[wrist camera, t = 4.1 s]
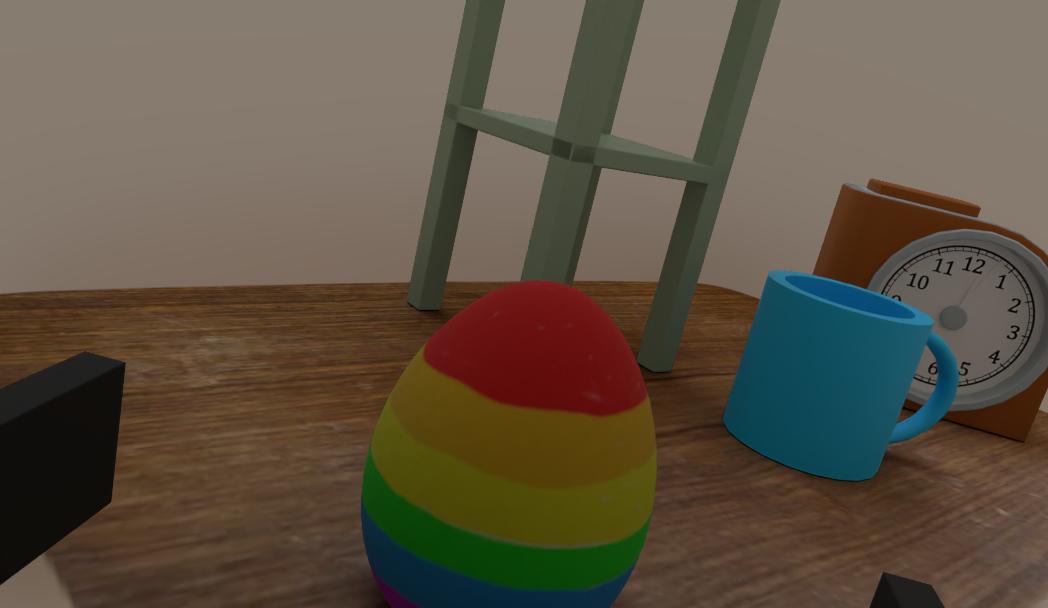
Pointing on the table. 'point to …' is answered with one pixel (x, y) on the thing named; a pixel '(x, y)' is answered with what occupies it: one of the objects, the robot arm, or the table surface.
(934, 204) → the alarm clock
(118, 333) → the table surface
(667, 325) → the stand
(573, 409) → the decorative egg
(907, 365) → the mug
